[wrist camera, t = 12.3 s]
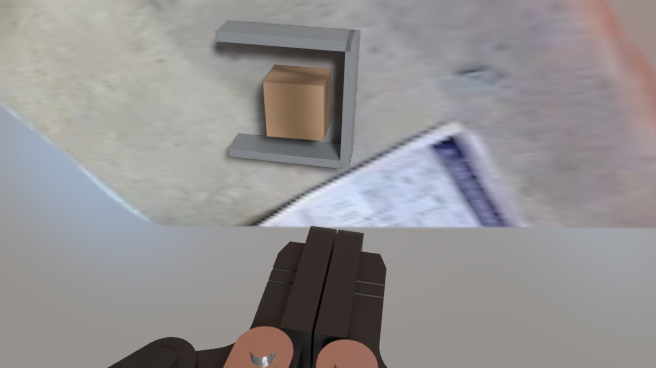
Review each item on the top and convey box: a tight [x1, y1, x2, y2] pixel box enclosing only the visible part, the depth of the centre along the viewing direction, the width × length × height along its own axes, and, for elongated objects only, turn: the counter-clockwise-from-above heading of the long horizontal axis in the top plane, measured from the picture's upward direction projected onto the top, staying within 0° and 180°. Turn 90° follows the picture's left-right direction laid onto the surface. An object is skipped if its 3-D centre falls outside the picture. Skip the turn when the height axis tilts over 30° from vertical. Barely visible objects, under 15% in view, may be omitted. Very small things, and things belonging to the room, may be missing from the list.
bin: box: [216, 21, 360, 169], centre depth 41 cm, size 11×12×3 cm
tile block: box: [263, 65, 331, 141], centre depth 41 cm, size 5×5×4 cm
